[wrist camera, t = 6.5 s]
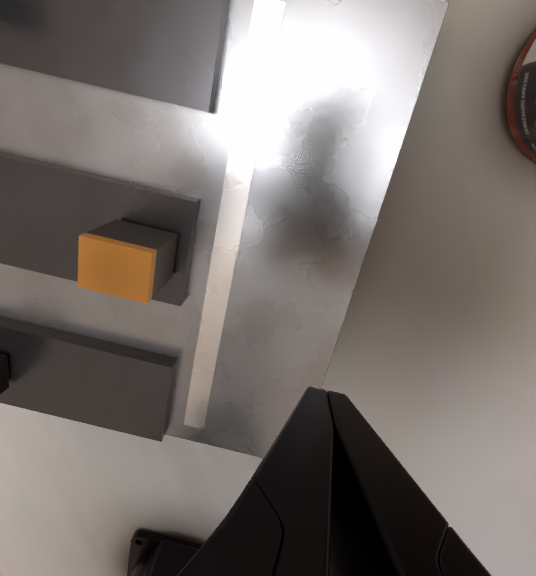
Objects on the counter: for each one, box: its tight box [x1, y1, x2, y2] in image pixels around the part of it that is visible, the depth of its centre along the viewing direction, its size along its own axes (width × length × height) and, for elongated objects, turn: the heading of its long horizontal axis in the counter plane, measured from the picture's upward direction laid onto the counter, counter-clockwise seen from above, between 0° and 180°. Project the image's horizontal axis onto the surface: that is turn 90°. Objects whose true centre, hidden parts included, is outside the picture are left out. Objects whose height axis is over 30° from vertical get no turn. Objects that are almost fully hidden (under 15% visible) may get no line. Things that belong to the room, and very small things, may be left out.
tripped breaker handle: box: [78, 219, 178, 303], centre depth 14 cm, size 2×2×3 cm
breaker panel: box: [0, 0, 449, 458], centre depth 15 cm, size 20×24×5 cm
